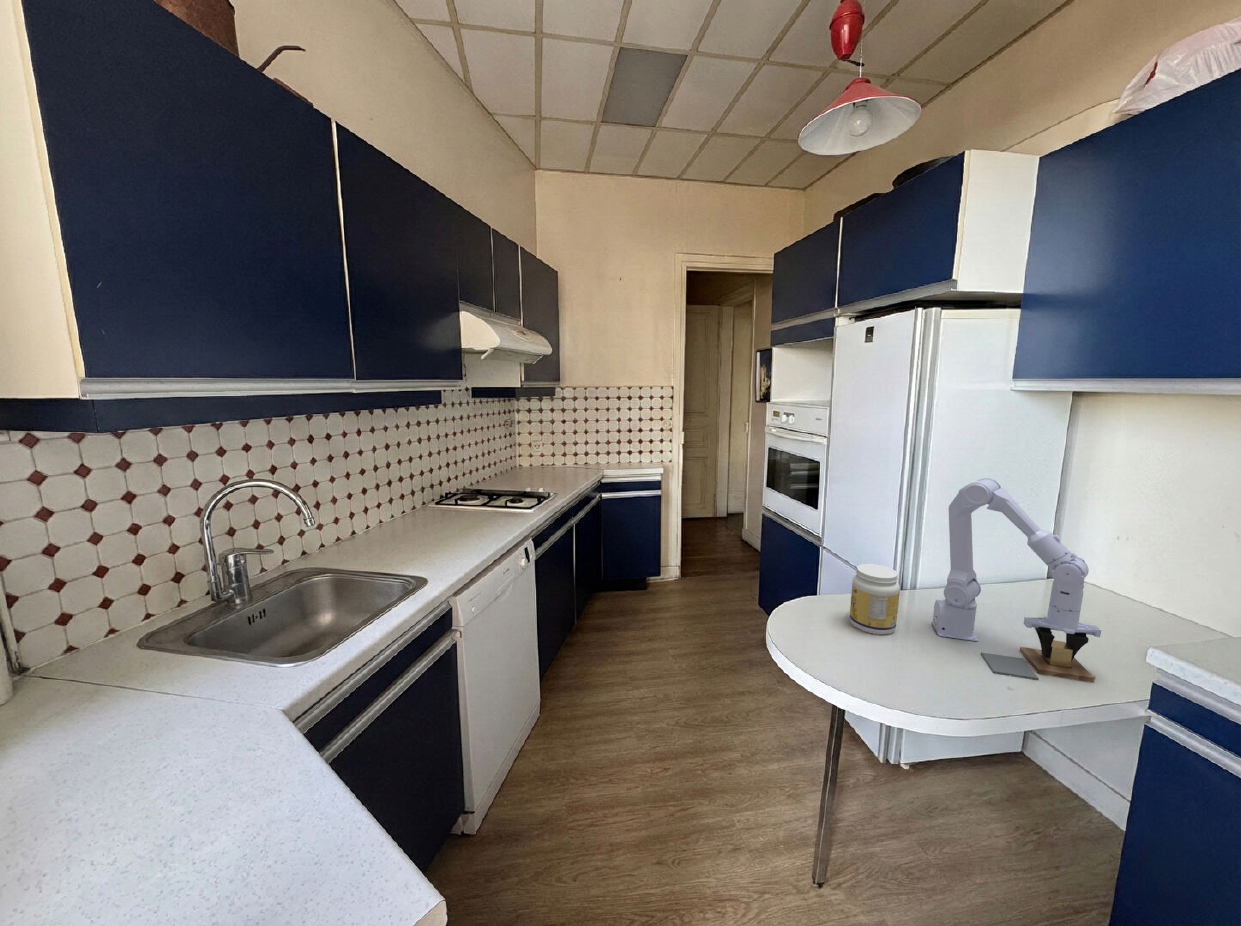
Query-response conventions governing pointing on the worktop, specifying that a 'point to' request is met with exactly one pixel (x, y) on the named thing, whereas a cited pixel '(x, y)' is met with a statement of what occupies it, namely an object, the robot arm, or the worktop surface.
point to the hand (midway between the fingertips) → (1056, 657)
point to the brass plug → (1059, 655)
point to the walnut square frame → (1043, 668)
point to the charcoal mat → (1009, 666)
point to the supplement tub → (875, 599)
